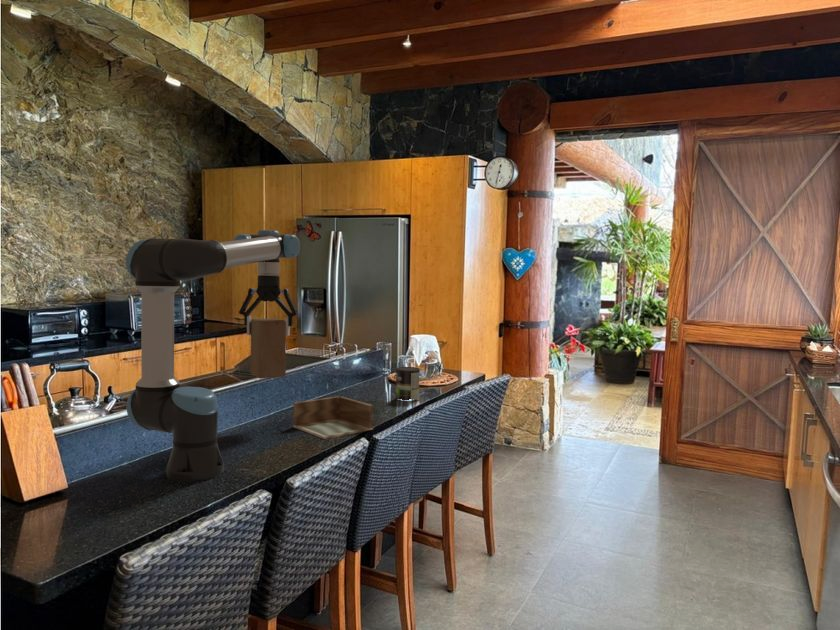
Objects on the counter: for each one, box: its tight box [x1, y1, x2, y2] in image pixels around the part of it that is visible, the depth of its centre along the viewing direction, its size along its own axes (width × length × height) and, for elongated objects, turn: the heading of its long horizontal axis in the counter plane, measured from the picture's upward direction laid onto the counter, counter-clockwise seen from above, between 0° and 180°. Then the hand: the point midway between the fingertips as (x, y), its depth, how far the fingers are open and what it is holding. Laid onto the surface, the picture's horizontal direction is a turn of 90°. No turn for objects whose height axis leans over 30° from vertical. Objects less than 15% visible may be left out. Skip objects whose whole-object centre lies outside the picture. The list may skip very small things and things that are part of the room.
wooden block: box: [250, 317, 287, 379], centre depth 225 cm, size 10×10×20 cm
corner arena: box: [293, 395, 374, 440], centre depth 226 cm, size 20×20×9 cm
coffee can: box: [395, 366, 421, 400], centre depth 275 cm, size 10×10×14 cm
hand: (268, 335), depth 226 cm, fingers closed on wooden block, 13 cm apart
